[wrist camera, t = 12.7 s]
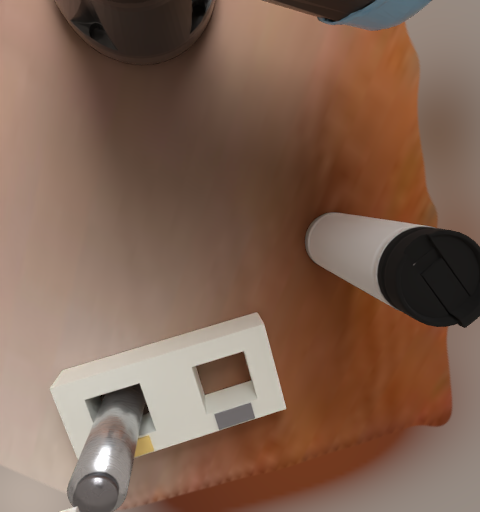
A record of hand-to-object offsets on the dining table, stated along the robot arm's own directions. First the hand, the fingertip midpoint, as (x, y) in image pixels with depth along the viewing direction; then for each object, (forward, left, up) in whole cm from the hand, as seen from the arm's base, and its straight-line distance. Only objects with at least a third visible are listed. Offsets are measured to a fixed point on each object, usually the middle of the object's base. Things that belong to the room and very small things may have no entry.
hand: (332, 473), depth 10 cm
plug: (+12, -14, -32) cm, 37 cm away
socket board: (+12, -9, -32) cm, 36 cm away
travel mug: (+1, +12, -33) cm, 35 cm away
